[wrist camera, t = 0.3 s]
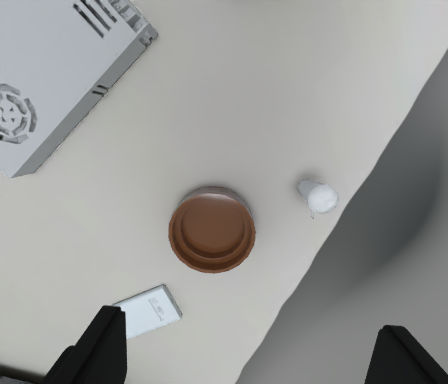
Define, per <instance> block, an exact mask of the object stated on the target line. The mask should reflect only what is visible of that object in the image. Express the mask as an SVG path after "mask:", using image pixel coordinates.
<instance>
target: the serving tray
mask: <svg viewBox="0 0 448 384" xmlns="http://www.w3.org/2000/svg"><path fill="white" fill-rule="evenodd" d="M0 384H33V383H29V382H26V381H21V380H17V379H12V378H9V377H5V376H0Z"/></svg>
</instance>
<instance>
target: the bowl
mask: <svg viewBox="0 0 448 384" xmlns="http://www.w3.org/2000/svg"><path fill="white" fill-rule="evenodd" d="M255 234H256V232H255V227H254V222H253V218H252V215H251V211H250V210H249V208H248V206H247V205H246V203H245V201H244V200H243V199H242V198H240V197H239V196H238V195H237V194H236V193H234V192H232V191H229V190H227V189H225V188H220V187H206V188H201V189H197V190H195V191H194V192H192V193H190V194H189V195H187V196H186V197H185V198H184V199H183V200H182V201H181V203H180V204H179V205H178V207H177V208H176V210H175V212H174V213H173V216H172V218H171V221H170V223H169V236H168V237H169V241H170V244H171V247H172V250H173V251H174V253H175V254H176V255H177V257H178V258H179V260H180V261H182V262H183V263H184V264H186V265H187V266H188V267H190V268H192V269H195V270H197V271H200V272H204V273H220V272H225V271H229V270H231V269H233V268H235V267H237V266H238V265H240V264H241V263H242V262H243V261H244V260H245V259H246V258H247V257H248V256H249V254H250V252H251V250H252V248H253V246H254V241H255Z"/></svg>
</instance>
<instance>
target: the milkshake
mask: <svg viewBox="0 0 448 384" xmlns="http://www.w3.org/2000/svg"><path fill="white" fill-rule="evenodd" d="M298 191H299V193H300V194H301V196H302V197H303V198H304V200H305V201H306V202H307V204H308V205H309V207H310V208H311V217H312V218H313V219H314V213H313V211H314V212H316V213H319V214H324V213H328V212H330V211H331V210H333V209H334V208H335V207H336V206H337V204H338V200H339V199H338V193H337V191H336V190H335V189H334V188H333V187H332V186H330V185H327V184H323V183H320V182H317V181H314V180H312V179H309V178H307V179H302V180H301V181H300V182H299V183H298Z"/></svg>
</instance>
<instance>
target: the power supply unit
mask: <svg viewBox="0 0 448 384" xmlns="http://www.w3.org/2000/svg"><path fill="white" fill-rule="evenodd" d="M157 35H158V34H157V32H156V31H155V29H154V28H153V27H152V25H151V24H150V23H149V22H147V21H146V20H145V19H144V18H143V16H142V15H141V14H140V13H139V12H138V11H137V10H136V8H135V7H134V6H133V5H132V4H131V3H130V2H129V0H0V171H2V172H3V173H4V174H5V175H6V176H7V177H8V178H14V177H18V176H23V175H27V174H31V173H34V172H35V171H36V169H37V168H38V167H39V166H40V165H41V164H42V163H43V162H44V161H45V160H46V158H47V157H48V156H49V155H50V154H51V153H52V152H53V151H54V150H55V149H56V147H57V146H58V145H59V144H60V143H61V142H62V141H63V140H64V139H65V137H66V136H67V135H68V134H69V133H70V132H71V131H72V130H73V129H74V128H75V126H76V125H77V124H78V123H79V122H80V121H81V120H82V119H83V118H84V117H85V115H86V114H87V113H88V112H89V111H90V110H91V109H92V108H93V107H94V105H95V104H96V103H97V102H98V101H99V100H100V99H101V98H102V97H103V96H102V94H101V93H106V92H107V90H106V88H107V87H108V88H110V87H111V86H112V85H113V84H114V83H115V82H116V81H117V80H118V79H119V78H120V76H121V75H122V74H123V73H124V72H125V71H126V70H127V69H128V68H129V67H130V65H131V64H132V63H133V62H134V61H135V60H136V59H137V58H138V57H139V56H140V54H141V53H142V52H143V51H144V50H145V49H146V47H145V45H146V44H147V43H148V44H149V45H150V44H151V42H150V39H151V37H152V38H153V39H155V38H156V37H157Z"/></svg>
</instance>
